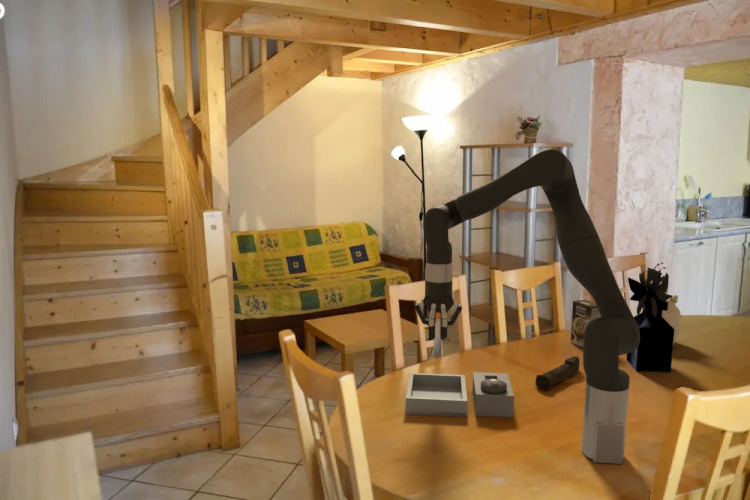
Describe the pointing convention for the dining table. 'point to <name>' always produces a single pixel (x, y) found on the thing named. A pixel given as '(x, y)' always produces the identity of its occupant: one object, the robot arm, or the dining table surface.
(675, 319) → the jug
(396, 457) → the dining table surface
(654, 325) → the vase
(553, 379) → the hand tool
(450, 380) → the tray
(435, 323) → the pin
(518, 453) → the dining table surface
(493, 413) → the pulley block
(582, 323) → the coffee box
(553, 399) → the dining table surface
